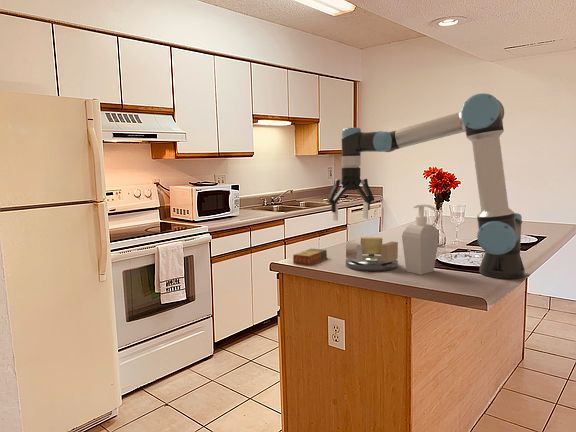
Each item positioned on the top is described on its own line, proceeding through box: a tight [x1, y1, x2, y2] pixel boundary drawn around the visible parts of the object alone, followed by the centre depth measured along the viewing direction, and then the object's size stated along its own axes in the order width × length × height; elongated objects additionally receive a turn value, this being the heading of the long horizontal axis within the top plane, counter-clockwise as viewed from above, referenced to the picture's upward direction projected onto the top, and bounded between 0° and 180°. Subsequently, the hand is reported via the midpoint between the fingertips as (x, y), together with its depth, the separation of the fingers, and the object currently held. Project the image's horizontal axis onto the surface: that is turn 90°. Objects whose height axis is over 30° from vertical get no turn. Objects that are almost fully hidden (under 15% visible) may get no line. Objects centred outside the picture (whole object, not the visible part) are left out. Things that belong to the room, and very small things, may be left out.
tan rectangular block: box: [380, 241, 399, 263], centre depth 177 cm, size 9×3×8 cm, turn 140°
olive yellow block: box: [360, 236, 383, 256], centre depth 190 cm, size 9×3×8 cm, turn 80°
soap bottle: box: [401, 203, 440, 275], centre depth 170 cm, size 12×10×26 cm
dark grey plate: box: [345, 254, 399, 273], centre depth 183 cm, size 21×21×3 cm
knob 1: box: [345, 240, 363, 262], centre depth 179 cm, size 9×3×8 cm, turn 20°
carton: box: [292, 248, 328, 266], centre depth 194 cm, size 8×16×4 cm, turn 149°
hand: (350, 219), depth 182 cm, fingers open, 13 cm apart
